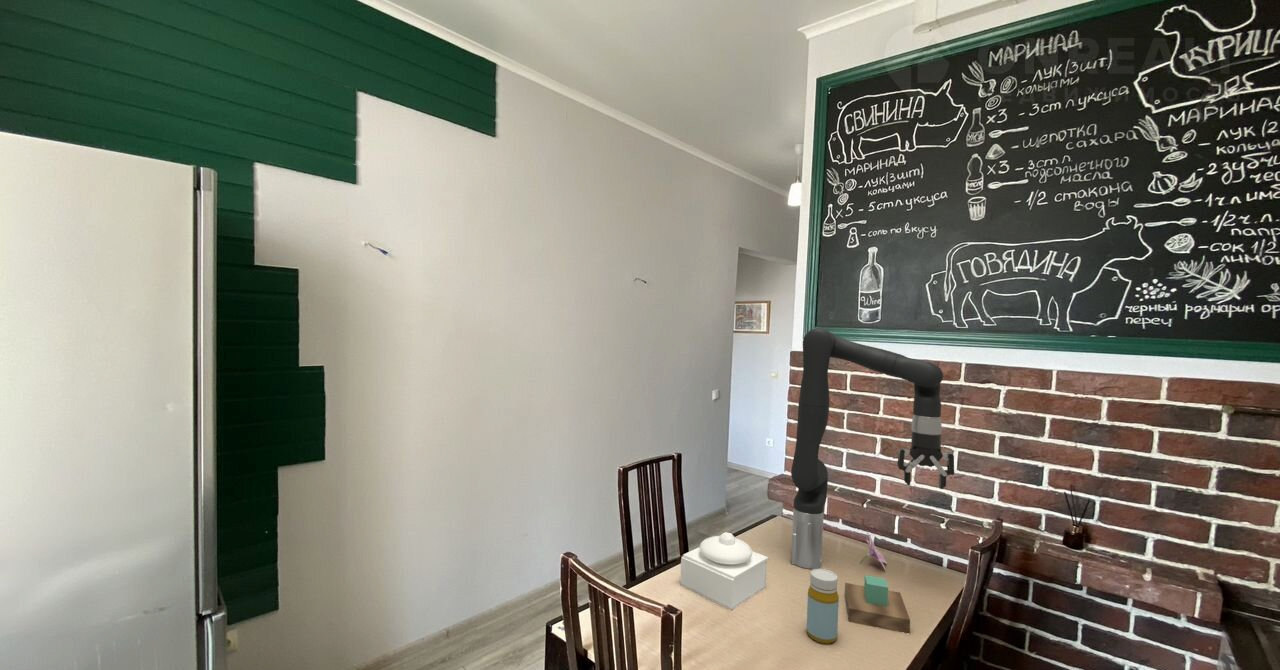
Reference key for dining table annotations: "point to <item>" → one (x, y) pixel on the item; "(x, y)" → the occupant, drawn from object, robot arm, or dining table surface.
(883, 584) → the green cube
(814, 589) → the bottle
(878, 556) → the lily
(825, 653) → the dining table surface
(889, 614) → the walnut base
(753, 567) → the butter dish
